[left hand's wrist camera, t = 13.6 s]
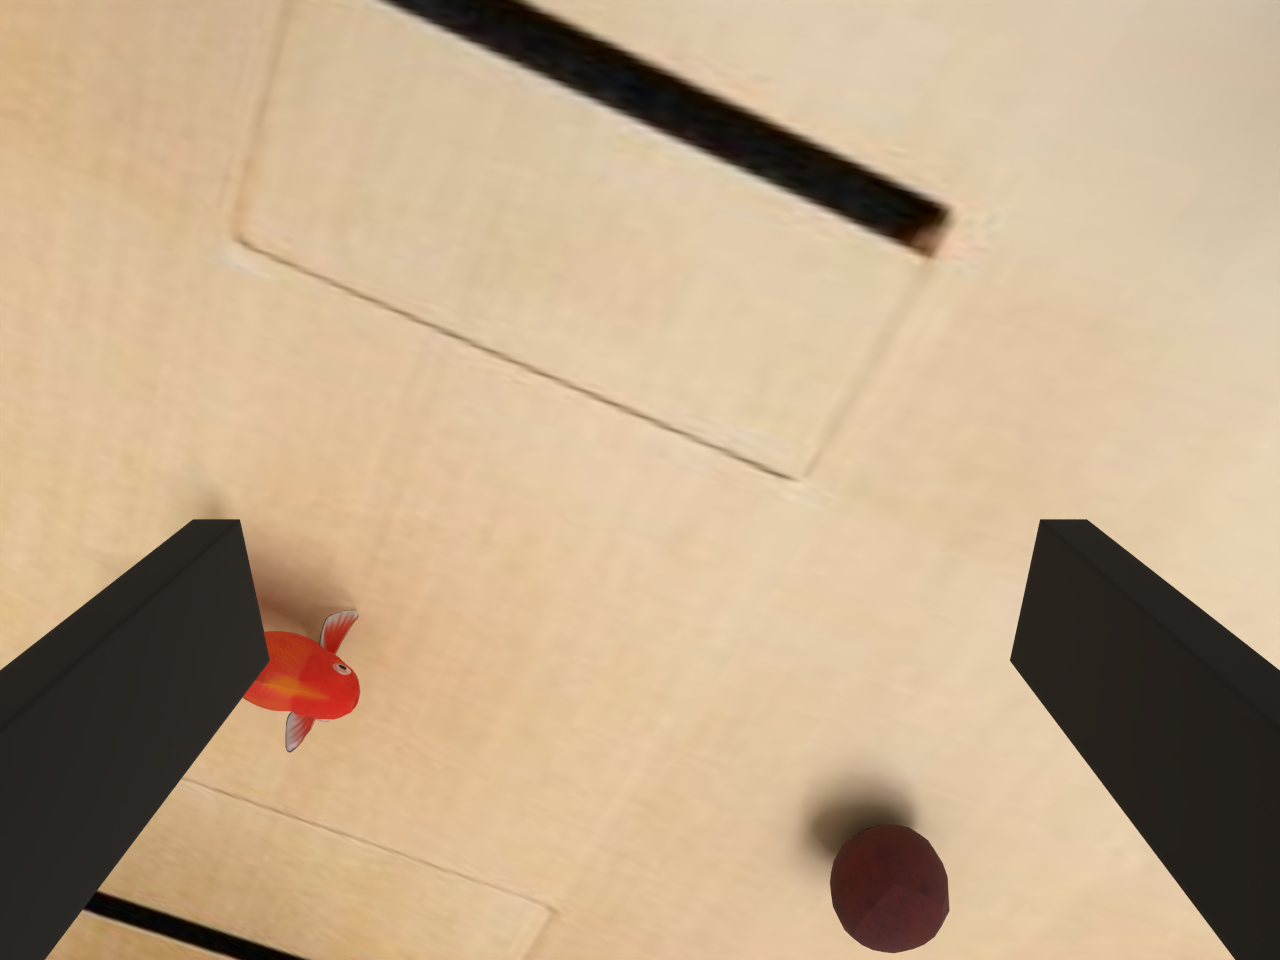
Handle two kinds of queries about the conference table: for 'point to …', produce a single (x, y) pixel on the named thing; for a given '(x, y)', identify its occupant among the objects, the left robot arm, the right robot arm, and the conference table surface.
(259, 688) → the fish
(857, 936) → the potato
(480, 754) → the conference table surface
